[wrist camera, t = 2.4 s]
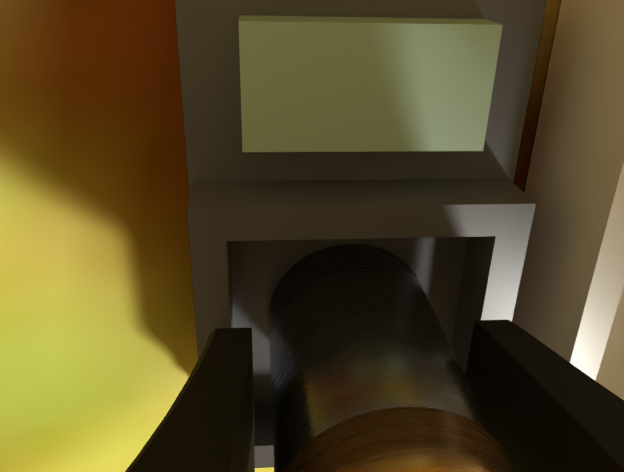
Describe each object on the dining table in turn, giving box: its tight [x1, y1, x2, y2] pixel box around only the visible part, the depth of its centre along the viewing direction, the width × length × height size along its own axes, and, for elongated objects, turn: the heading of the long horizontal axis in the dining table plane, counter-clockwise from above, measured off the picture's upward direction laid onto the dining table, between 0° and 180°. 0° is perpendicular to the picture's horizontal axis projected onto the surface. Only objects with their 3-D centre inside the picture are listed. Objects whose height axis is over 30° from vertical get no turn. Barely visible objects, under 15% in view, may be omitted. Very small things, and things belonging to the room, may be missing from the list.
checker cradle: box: [175, 0, 547, 468], centre depth 11 cm, size 9×6×2 cm, turn 179°
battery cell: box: [269, 244, 514, 472], centre depth 9 cm, size 3×3×8 cm
